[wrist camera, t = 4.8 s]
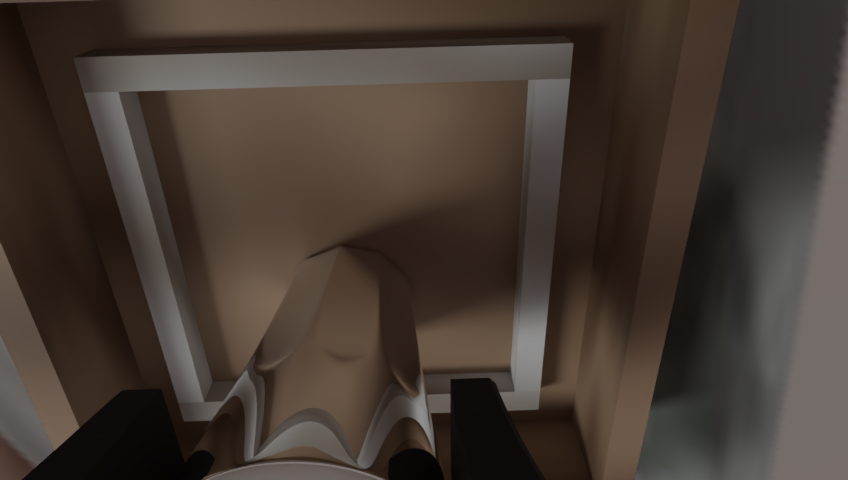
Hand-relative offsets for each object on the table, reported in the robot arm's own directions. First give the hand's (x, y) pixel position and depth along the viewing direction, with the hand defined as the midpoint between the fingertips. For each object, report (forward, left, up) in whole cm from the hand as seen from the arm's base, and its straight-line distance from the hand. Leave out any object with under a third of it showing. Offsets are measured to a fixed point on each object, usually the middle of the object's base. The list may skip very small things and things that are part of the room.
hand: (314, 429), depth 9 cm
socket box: (0, 0, -7) cm, 7 cm away
